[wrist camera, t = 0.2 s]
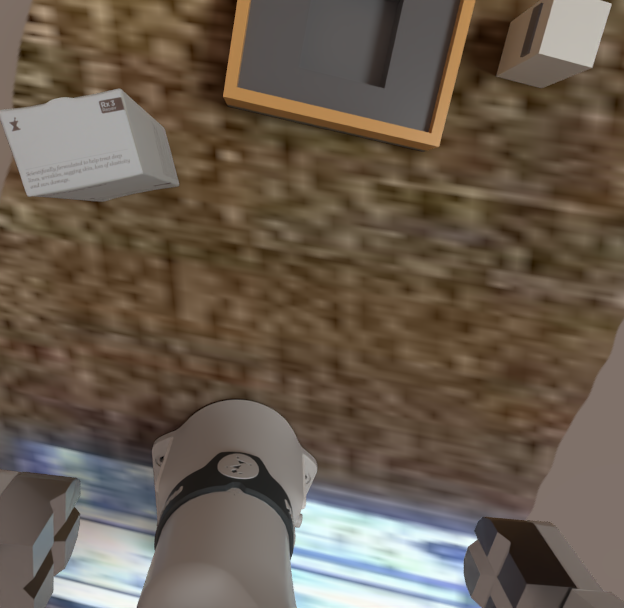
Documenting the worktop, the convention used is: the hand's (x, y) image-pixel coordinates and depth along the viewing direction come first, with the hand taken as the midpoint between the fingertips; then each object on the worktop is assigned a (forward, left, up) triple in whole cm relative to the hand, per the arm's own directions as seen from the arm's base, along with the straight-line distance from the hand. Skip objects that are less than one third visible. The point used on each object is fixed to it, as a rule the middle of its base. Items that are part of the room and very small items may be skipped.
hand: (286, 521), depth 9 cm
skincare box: (+7, +15, -40) cm, 43 cm away
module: (+25, -21, -40) cm, 51 cm away
